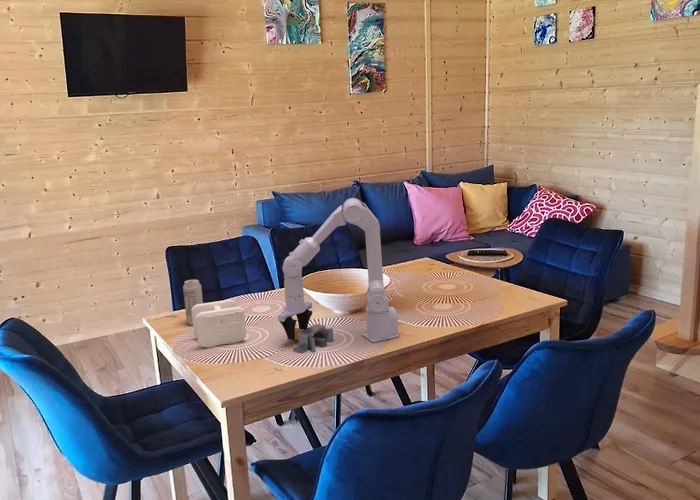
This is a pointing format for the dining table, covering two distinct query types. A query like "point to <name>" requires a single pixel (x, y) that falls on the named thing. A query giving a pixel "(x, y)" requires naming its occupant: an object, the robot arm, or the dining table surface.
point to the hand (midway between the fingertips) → (297, 336)
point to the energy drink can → (192, 297)
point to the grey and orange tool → (318, 341)
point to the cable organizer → (218, 323)
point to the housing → (308, 341)
